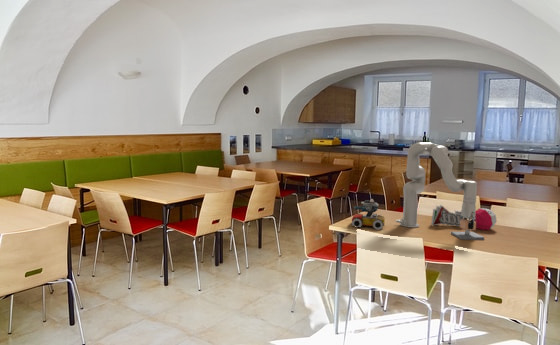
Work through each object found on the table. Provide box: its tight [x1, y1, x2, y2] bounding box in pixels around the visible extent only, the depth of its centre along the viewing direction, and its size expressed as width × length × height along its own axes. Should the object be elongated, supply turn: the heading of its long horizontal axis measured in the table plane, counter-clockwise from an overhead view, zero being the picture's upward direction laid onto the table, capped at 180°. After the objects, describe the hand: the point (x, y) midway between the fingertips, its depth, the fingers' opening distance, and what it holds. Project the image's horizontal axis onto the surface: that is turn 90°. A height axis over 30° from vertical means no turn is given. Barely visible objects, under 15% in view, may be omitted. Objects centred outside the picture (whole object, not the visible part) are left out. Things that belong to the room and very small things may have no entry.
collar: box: [459, 219, 476, 231], centre depth 275 cm, size 7×7×5 cm
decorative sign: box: [430, 204, 462, 227], centre depth 305 cm, size 24×3×15 cm, turn 84°
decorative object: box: [475, 208, 498, 231], centre depth 299 cm, size 15×15×15 cm
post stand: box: [450, 230, 485, 241], centre depth 276 cm, size 15×14×8 cm
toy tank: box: [351, 198, 386, 231], centre depth 299 cm, size 18×22×20 cm
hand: (467, 227), depth 276 cm, fingers closed on collar, 6 cm apart
